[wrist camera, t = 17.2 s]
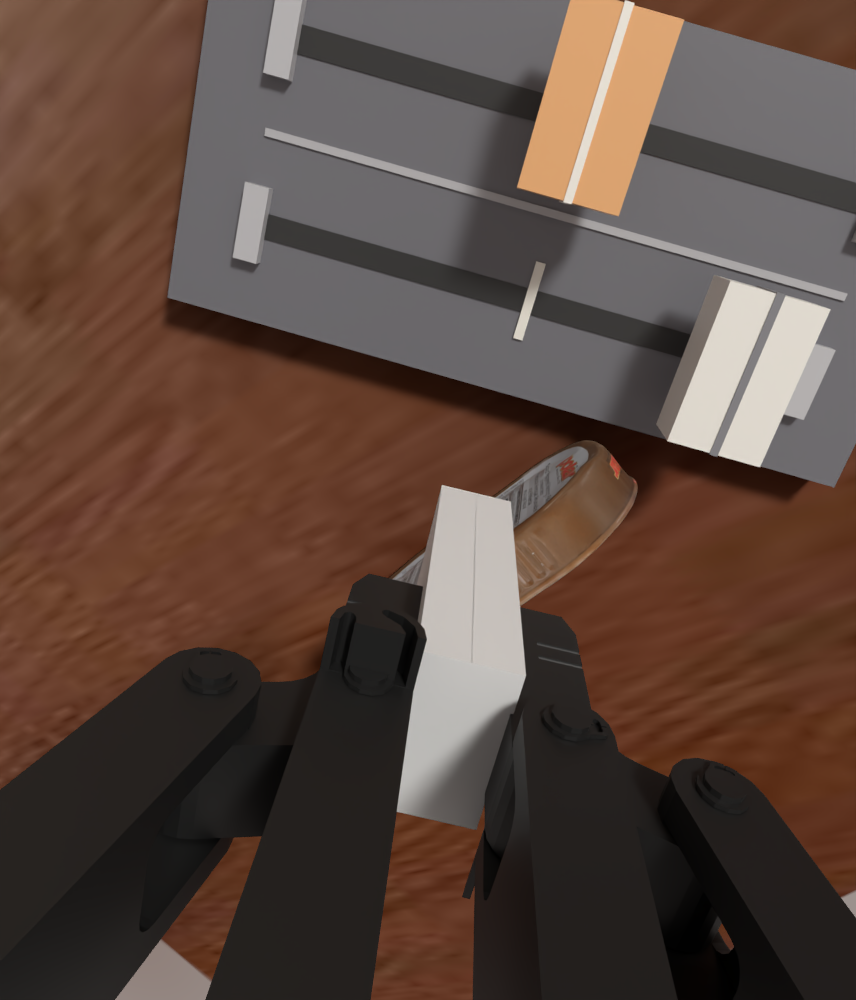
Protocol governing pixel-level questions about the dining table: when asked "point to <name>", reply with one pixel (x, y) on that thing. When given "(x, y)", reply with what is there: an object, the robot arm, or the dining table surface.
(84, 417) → the dining table surface
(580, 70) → the fader orange
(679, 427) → the fader cream
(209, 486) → the dining table surface
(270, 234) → the console
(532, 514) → the tin
